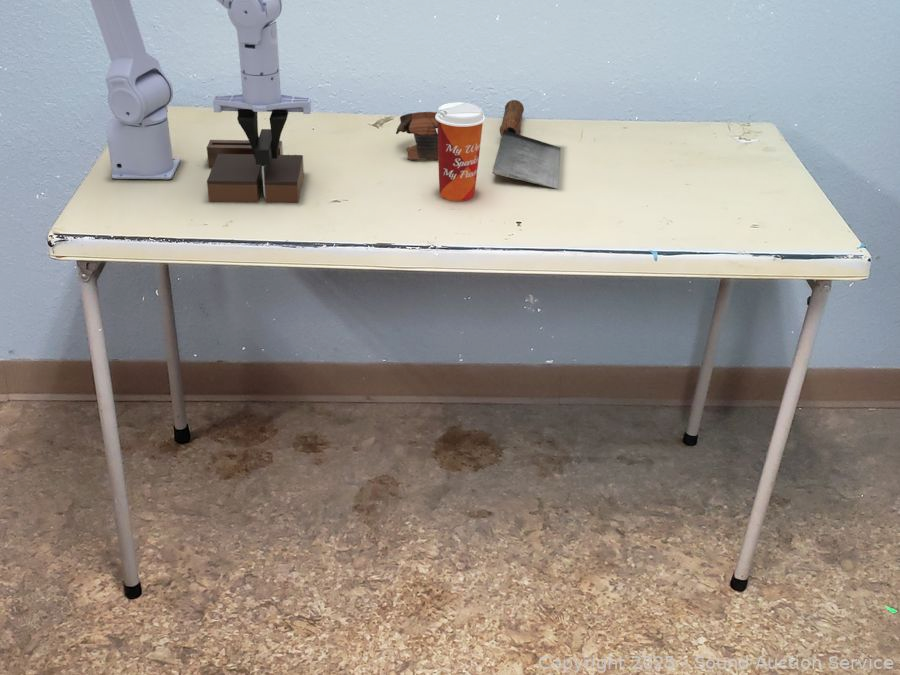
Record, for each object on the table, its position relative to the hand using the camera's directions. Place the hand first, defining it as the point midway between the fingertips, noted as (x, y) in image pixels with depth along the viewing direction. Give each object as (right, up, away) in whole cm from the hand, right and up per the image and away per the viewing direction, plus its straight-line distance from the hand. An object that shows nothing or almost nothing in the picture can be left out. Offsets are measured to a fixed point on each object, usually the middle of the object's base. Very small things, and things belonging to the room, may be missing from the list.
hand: (266, 156), depth 150 cm
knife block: (-5, +1, +11) cm, 12 cm away
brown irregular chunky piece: (+25, +4, +18) cm, 31 cm away
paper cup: (+30, -6, +4) cm, 31 cm away
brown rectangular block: (+2, -5, +3) cm, 6 cm away
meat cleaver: (+43, +5, +21) cm, 48 cm away
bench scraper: (0, -4, +3) cm, 5 cm away
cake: (-5, -5, +3) cm, 7 cm away
